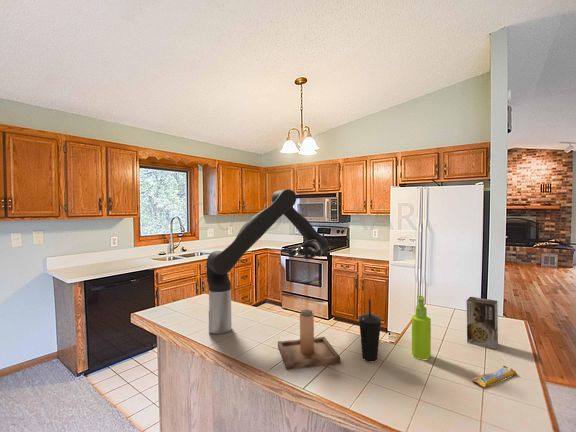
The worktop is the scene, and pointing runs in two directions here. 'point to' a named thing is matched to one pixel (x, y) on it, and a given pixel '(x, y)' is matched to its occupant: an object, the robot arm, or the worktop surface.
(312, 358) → the tray
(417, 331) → the soap dispenser
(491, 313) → the coffee box
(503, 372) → the candy bar
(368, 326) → the drinking cup
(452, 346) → the worktop surface
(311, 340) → the tan cylinder
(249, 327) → the worktop surface
